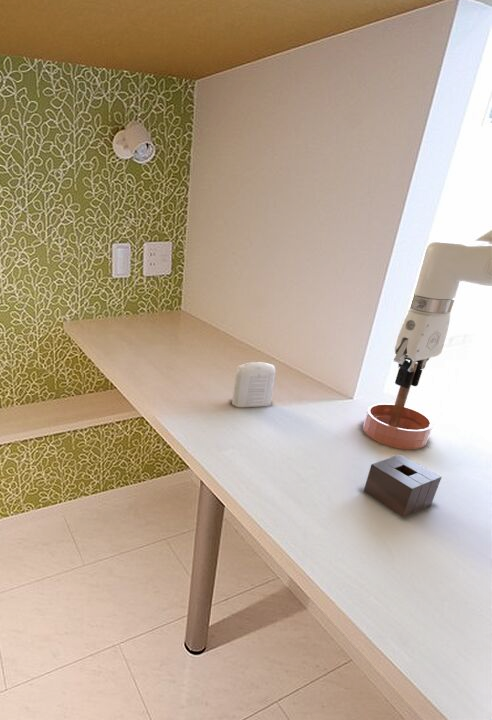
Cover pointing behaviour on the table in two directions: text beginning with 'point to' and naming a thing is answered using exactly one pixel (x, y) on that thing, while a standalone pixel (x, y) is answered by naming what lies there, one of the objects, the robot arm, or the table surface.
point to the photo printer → (253, 384)
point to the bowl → (394, 436)
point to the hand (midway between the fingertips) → (406, 384)
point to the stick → (400, 403)
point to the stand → (402, 484)
